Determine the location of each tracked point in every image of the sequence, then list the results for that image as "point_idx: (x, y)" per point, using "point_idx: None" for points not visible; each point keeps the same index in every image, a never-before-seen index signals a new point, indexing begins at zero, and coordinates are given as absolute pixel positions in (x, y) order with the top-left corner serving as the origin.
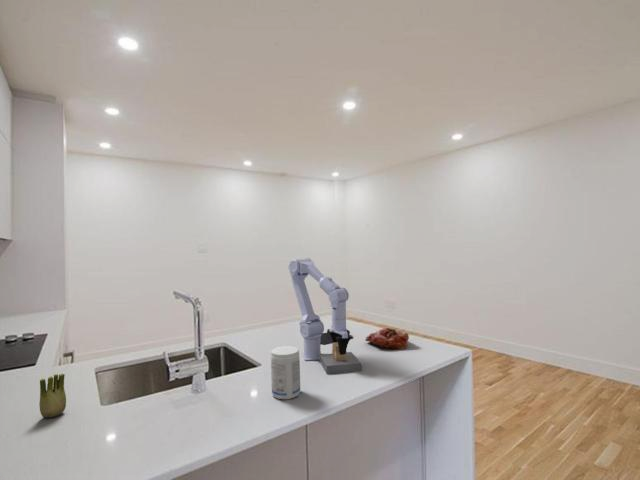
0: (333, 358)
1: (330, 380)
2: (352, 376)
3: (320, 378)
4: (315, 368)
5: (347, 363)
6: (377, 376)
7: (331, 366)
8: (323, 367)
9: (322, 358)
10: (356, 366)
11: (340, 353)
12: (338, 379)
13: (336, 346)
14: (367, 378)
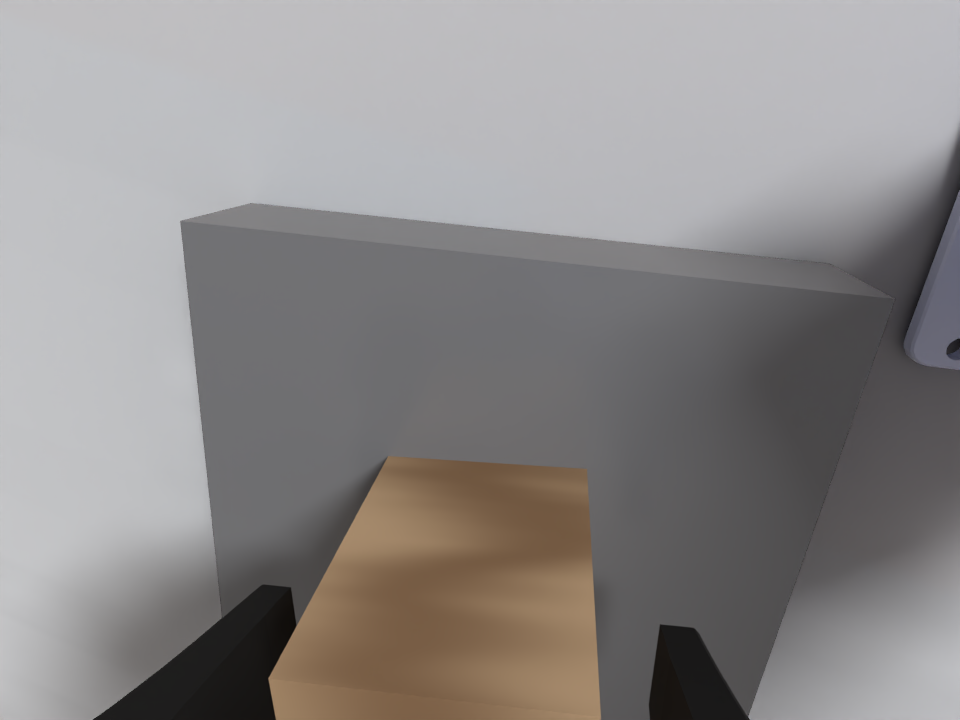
0: (527, 465)
1: (21, 180)
2: (129, 477)
3: (94, 52)
4: (527, 89)
5: (244, 559)
6: (110, 675)
7: (197, 306)
8: (479, 230)
9: (607, 279)
10: None
11: (243, 602)
12: (50, 294)
13: (279, 680)
14: (67, 582)
